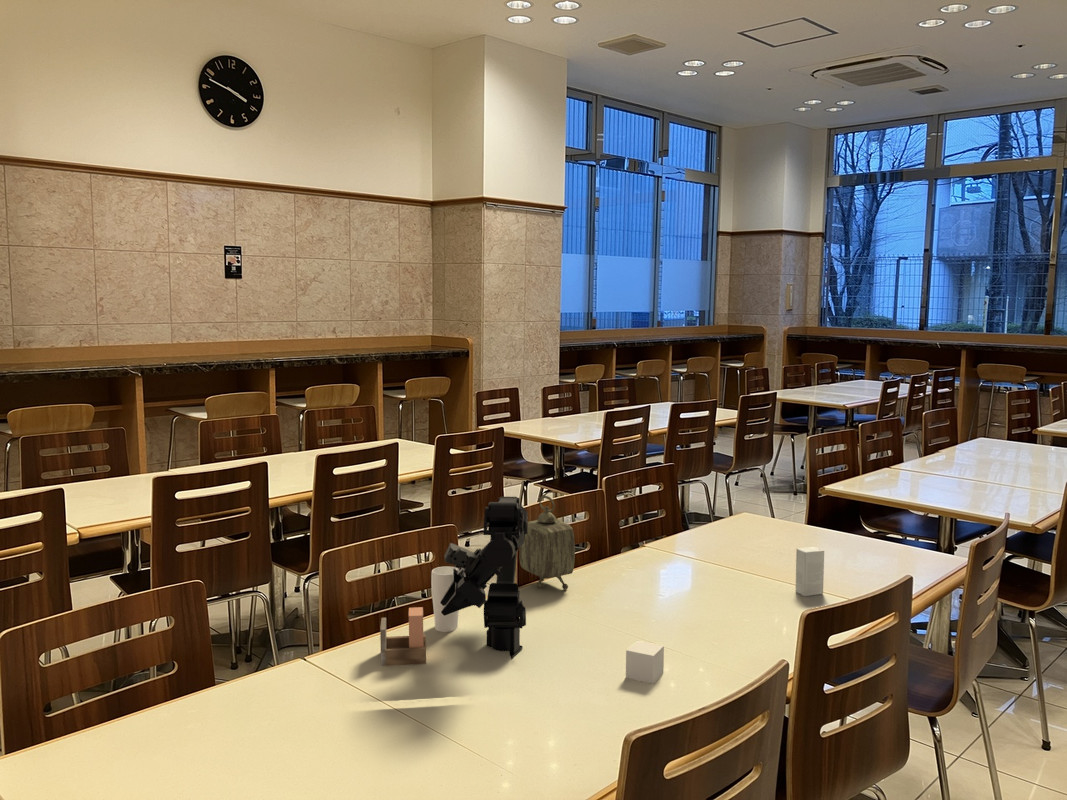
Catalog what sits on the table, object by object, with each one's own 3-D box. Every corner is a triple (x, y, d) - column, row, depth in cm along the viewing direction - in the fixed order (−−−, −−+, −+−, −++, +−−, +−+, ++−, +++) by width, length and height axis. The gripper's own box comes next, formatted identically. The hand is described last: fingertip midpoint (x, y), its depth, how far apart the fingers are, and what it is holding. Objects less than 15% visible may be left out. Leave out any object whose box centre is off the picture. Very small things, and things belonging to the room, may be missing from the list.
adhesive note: (653, 684, 178) (653, 655, 177) (625, 678, 181) (626, 650, 180) (663, 673, 183) (663, 645, 183) (636, 667, 186) (637, 640, 185)
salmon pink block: (423, 651, 191) (422, 607, 190) (423, 660, 186) (423, 615, 185) (409, 652, 190) (408, 607, 189) (409, 661, 185) (408, 616, 184)
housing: (430, 654, 192) (429, 614, 191) (431, 669, 185) (430, 628, 184) (382, 656, 191) (381, 616, 190) (380, 672, 183) (380, 630, 182)
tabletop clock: (574, 590, 235) (575, 499, 232) (547, 596, 230) (547, 503, 227) (543, 576, 247) (544, 489, 244) (516, 582, 242) (516, 493, 239)
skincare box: (813, 589, 237) (815, 546, 235) (823, 594, 233) (825, 550, 231) (794, 591, 235) (795, 548, 233) (803, 596, 231) (805, 552, 229)
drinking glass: (456, 639, 201) (455, 575, 199) (428, 637, 202) (427, 573, 201) (464, 628, 208) (463, 567, 206) (437, 626, 209) (436, 565, 207)
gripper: (464, 521, 196) (414, 571, 195) (469, 543, 177) (414, 599, 177) (499, 554, 198) (450, 603, 197) (508, 580, 179) (454, 634, 179)
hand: (442, 609), depth 188 cm, fingers open, 6 cm apart
